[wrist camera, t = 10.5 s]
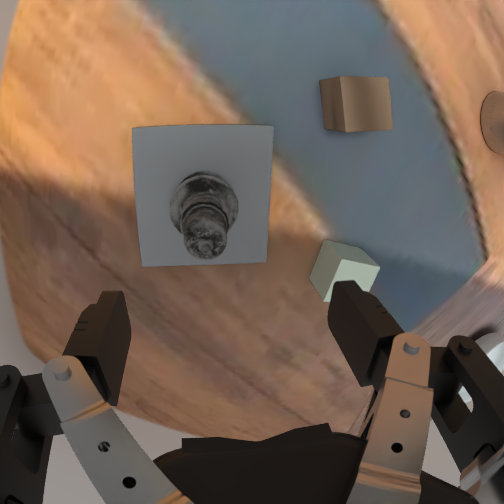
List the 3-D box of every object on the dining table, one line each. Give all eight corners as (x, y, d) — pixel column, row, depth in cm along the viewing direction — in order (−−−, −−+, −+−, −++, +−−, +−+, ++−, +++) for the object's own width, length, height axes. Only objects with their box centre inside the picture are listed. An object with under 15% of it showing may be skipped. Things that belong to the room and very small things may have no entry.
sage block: (359, 247, 36) (380, 267, 31) (344, 283, 38) (361, 306, 33) (324, 239, 34) (341, 258, 30) (308, 277, 36) (323, 301, 32)
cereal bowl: (494, 349, 55) (510, 366, 48) (443, 392, 57) (458, 413, 50) (495, 307, 47) (516, 326, 41) (435, 359, 49) (454, 383, 43)
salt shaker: (203, 238, 31) (207, 309, 20) (159, 198, 29) (137, 253, 18) (246, 198, 30) (274, 251, 19) (204, 154, 28) (206, 182, 17)
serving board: (271, 125, 28) (273, 126, 27) (264, 258, 34) (266, 262, 33) (134, 127, 26) (132, 128, 25) (143, 262, 32) (142, 266, 31)
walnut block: (362, 80, 27) (388, 77, 23) (367, 125, 30) (392, 129, 25) (318, 80, 27) (339, 76, 23) (324, 128, 29) (345, 132, 25)
